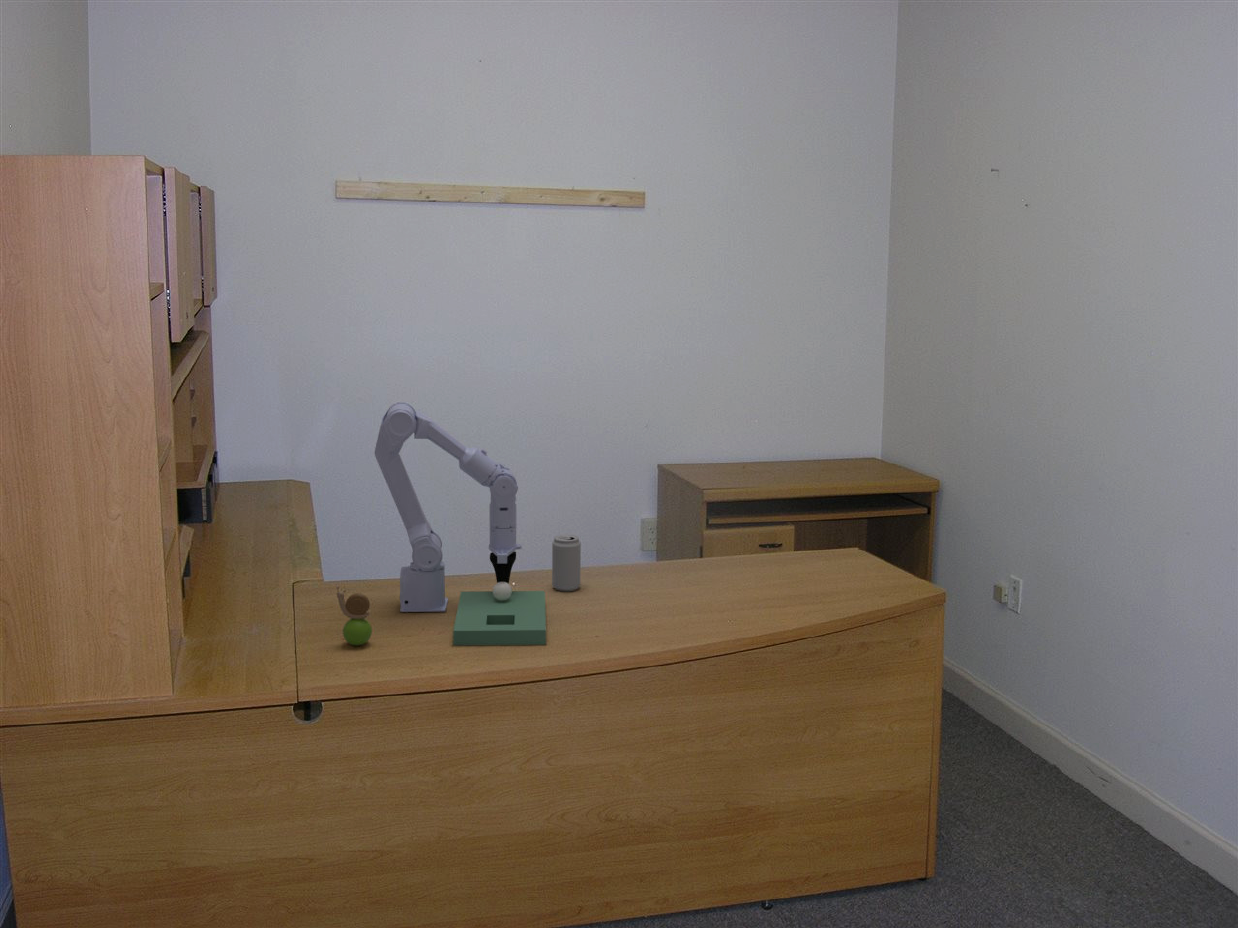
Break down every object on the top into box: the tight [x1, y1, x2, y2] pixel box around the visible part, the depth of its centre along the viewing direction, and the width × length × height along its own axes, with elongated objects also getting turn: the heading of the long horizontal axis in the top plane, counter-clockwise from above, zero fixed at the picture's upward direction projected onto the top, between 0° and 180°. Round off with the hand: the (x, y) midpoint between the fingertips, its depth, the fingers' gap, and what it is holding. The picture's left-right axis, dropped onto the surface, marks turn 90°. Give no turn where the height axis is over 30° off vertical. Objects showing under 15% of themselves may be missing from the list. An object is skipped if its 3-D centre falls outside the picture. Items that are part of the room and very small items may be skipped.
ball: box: [492, 582, 513, 601], centre depth 231 cm, size 4×4×4 cm
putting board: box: [452, 590, 547, 646], centre depth 226 cm, size 18×24×3 cm
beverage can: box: [551, 534, 582, 592], centre depth 248 cm, size 6×6×12 cm
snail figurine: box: [335, 584, 373, 646], centre depth 212 cm, size 5×6×12 cm
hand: (503, 585), depth 237 cm, fingers closed
